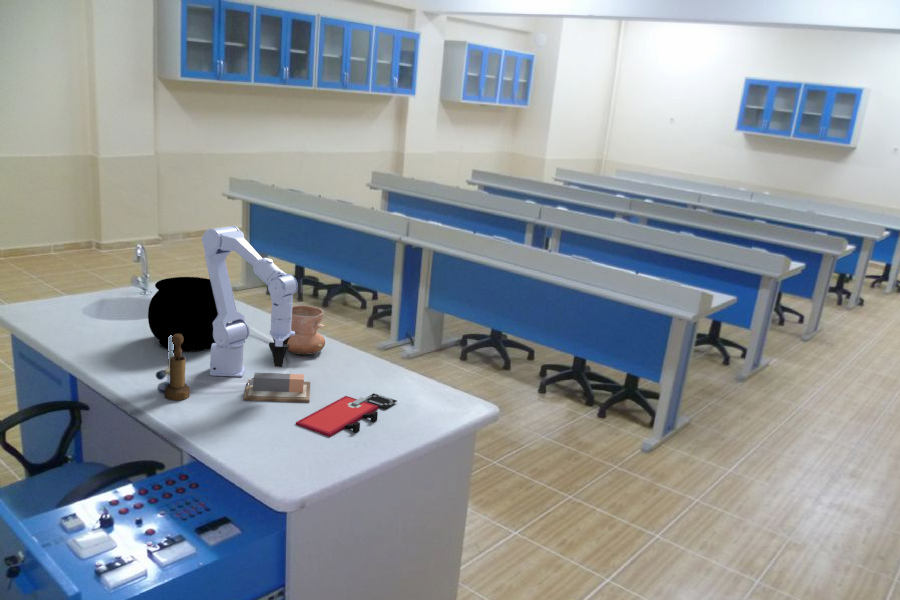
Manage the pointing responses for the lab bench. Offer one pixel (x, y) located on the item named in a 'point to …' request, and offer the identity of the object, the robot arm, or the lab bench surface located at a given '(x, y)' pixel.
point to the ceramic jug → (306, 330)
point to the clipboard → (278, 395)
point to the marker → (277, 382)
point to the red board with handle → (344, 414)
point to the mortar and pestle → (177, 373)
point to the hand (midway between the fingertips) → (279, 361)
